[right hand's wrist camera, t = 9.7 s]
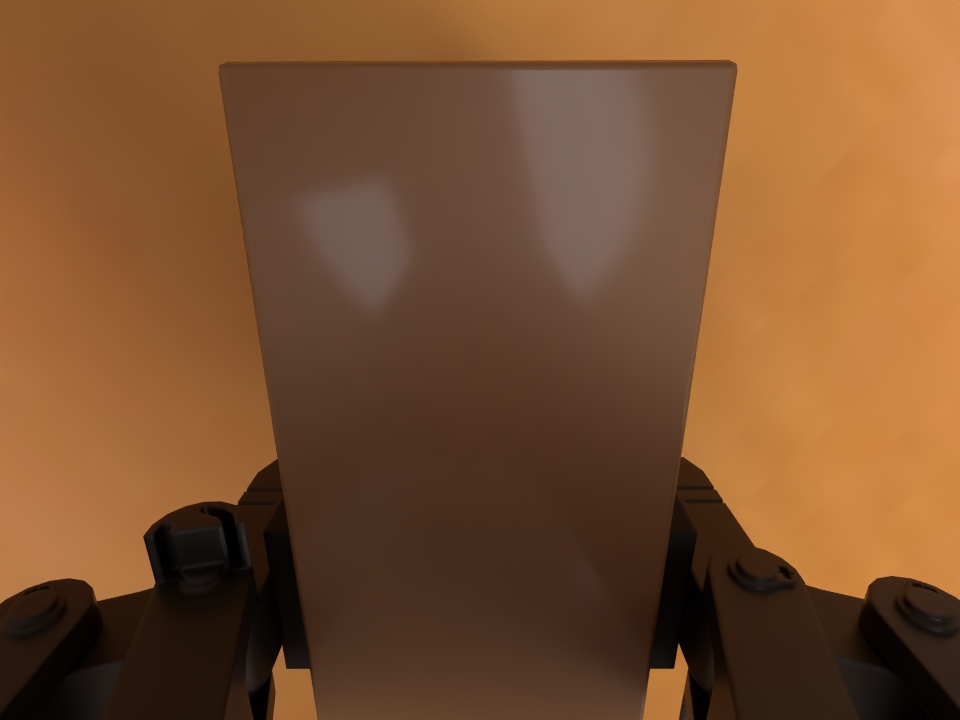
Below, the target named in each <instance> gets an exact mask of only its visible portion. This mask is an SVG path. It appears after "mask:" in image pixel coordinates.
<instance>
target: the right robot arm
mask: <svg viewBox="0 0 960 720" xmlns="http://www.w3.org/2000/svg"><path fill="white" fill-rule="evenodd" d="M143 537H144V541H145V545H146V549H147V552H148V556H149V560H150V563H151V567H152V571H153V575H154V578H155V582H156V583H155V586H154V588H151V589H147V590H144V591H141V592H136V593H132V594H128V595H123V596H119V597H114V598H110V599H106V600H101V601H97V600H96V597H95V594H94V591H93V588H92V587H91V586H90V585H89V584H87V583H86V582H85V581H82V580H76V579H70V578H68V579H61V580H53V581H48V582H45V583H42V584H39V585H35V586H33V587H30V588H27V589H25V590H23V591H21V592H20V593H18V594H16V595H14V596H12V597H10V598H8V599H6V600H5V601H3V602H2V603H1V604H0V720H273V712H274V703H275V693H276V692H275V684H274V678H273V672H272V669H273V666H274V664H275V661H276V659H277V656H278V654H279V651H280V649H281V646H283V652H284V657H285V663H286V669H310V665H309V659H308V652H307V646H306V639H305V633H304V626H303V620H302V613H301V607H300V600H299V594H298V587H297V580H296V574H295V567H294V561H293V554H292V548H291V541H290V535H289V528H288V522H287V515H286V509H285V502H284V496H283V489H282V483H281V476H280V470H279V463H278V459H277V460H275V461H274V462H272V463H271V464H270V465H268V466H267V467H265V468H264V469H263V470H261V471H260V472H258V473H257V475H256V476H255V478H254V479H253V481H252V482H251V484H250V485H249V487H248V488H247V492H244V494H243V495H242V497H241V498H240V500H239V501H238V505H236V506H235V505H233V504H229V503H225V502H202V503H198V504H193V505H189V506H185V507H183V508H180V509H178V510H176V511H174V512H171V513H169V514H167V515H165V516H164V517H163V518H161V519H160V520H158V521H157V522H155V523H154V524H153V525H152V526H151V527H150V528H149V530H148V531H147V532H146V533H145V535H144V536H143ZM678 643H679V645H680V647H681V650H682V652H683V655H684V657H685V660H686V662H687V665H688V672H687V678H686V683H685V689H684V694H683V699H682V705H681V710H680V716H679V720H960V600H959V599H957V598H956V597H954V596H952V595H950V594H948V593H946V592H945V591H943V590H941V589H939V588H937V587H935V586H932V585H930V584H927V583H923V582H921V581H917V580H914V579H910V578H903V577H895V576H889V577H883V578H877V579H876V580H875V581H874V582H872V583H871V584H870V585H869V586H868V589H867V593H866V596H865V599H861V598H856V597H852V596H848V595H843V594H839V593H834V592H830V591H825V590H821V589H818V588H814V587H811V586H808V585H805V582H804V581H803V579H802V578H801V576H800V575H799V573H798V572H797V570H796V569H795V568H793V567H792V566H791V565H790V564H788V563H787V562H786V561H785V560H783V559H782V558H780V557H778V556H776V555H774V554H772V553H770V552H768V551H766V550H764V549H760V548H756V547H755V546H754V545H753V543H752V542H751V540H750V539H749V537H748V536H747V534H746V533H745V532H744V530H743V529H742V527H741V526H740V524H739V523H738V521H737V520H736V518H735V517H734V516H733V514H732V513H731V511H730V510H729V508H728V507H727V505H726V504H725V503H723V500H722V498H721V497H720V495H719V494H718V492H717V491H716V490H714V486H713V485H712V484H711V482H710V481H709V479H708V478H707V476H706V475H705V473H704V472H703V471H702V470H701V469H699V468H698V467H697V466H695V465H694V464H692V463H691V462H689V461H688V460H687V459H685V458H684V457H681V459H680V466H679V473H678V480H677V487H676V493H675V500H674V507H673V514H672V521H671V528H670V535H669V541H668V548H667V555H666V562H665V569H664V576H663V583H662V589H661V596H660V603H659V610H658V617H657V624H656V631H655V637H654V644H653V651H652V658H651V665H650V669H674V666H675V660H676V654H677V648H678Z"/></svg>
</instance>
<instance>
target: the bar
mask: <svg viewBox="0 0 960 720" xmlns="http://www.w3.org/2000/svg"><path fill="white" fill-rule="evenodd" d="M736 76H737V65H736V63H734V62H732V61H730V60H606V61H315V62H226V63H224V64H222V65H220V66H219V78H220V85H221V91H222V98H223V104H224V111H225V118H226V124H227V131H228V137H229V144H230V150H231V157H232V163H233V170H234V176H235V183H236V189H237V196H238V202H239V209H240V215H241V222H242V228H243V235H244V241H245V248H246V254H247V261H248V267H249V274H250V281H251V287H252V294H253V300H254V307H255V313H256V320H257V326H258V333H259V339H260V346H261V352H262V359H263V365H264V372H265V378H266V385H267V391H268V398H269V404H270V411H271V417H272V424H273V431H274V437H275V444H276V450H277V457H278V463H279V470H280V476H281V483H282V489H283V496H284V502H285V509H286V515H287V522H288V528H289V535H290V541H291V548H292V554H293V561H294V567H295V574H296V580H297V587H298V594H299V600H300V607H301V613H302V620H303V626H304V633H305V639H306V646H307V652H308V659H309V665H310V672H311V678H312V685H313V691H314V698H315V704H316V711H317V717H318V720H643V713H644V706H645V699H646V692H647V685H648V678H649V672H650V665H651V658H652V651H653V644H654V637H655V631H656V624H657V617H658V610H659V603H660V596H661V589H662V583H663V576H664V569H665V562H666V555H667V548H668V541H669V535H670V528H671V521H672V514H673V507H674V500H675V493H676V487H677V480H678V473H679V466H680V459H681V452H682V446H683V439H684V432H685V425H686V418H687V411H688V404H689V398H690V391H691V384H692V377H693V370H694V363H695V356H696V350H697V343H698V336H699V329H700V322H701V315H702V308H703V302H704V295H705V288H706V281H707V274H708V267H709V261H710V254H711V247H712V240H713V233H714V226H715V219H716V213H717V206H718V199H719V192H720V185H721V178H722V171H723V165H724V158H725V151H726V144H727V137H728V130H729V123H730V117H731V110H732V103H733V96H734V89H735V82H736Z"/></svg>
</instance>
